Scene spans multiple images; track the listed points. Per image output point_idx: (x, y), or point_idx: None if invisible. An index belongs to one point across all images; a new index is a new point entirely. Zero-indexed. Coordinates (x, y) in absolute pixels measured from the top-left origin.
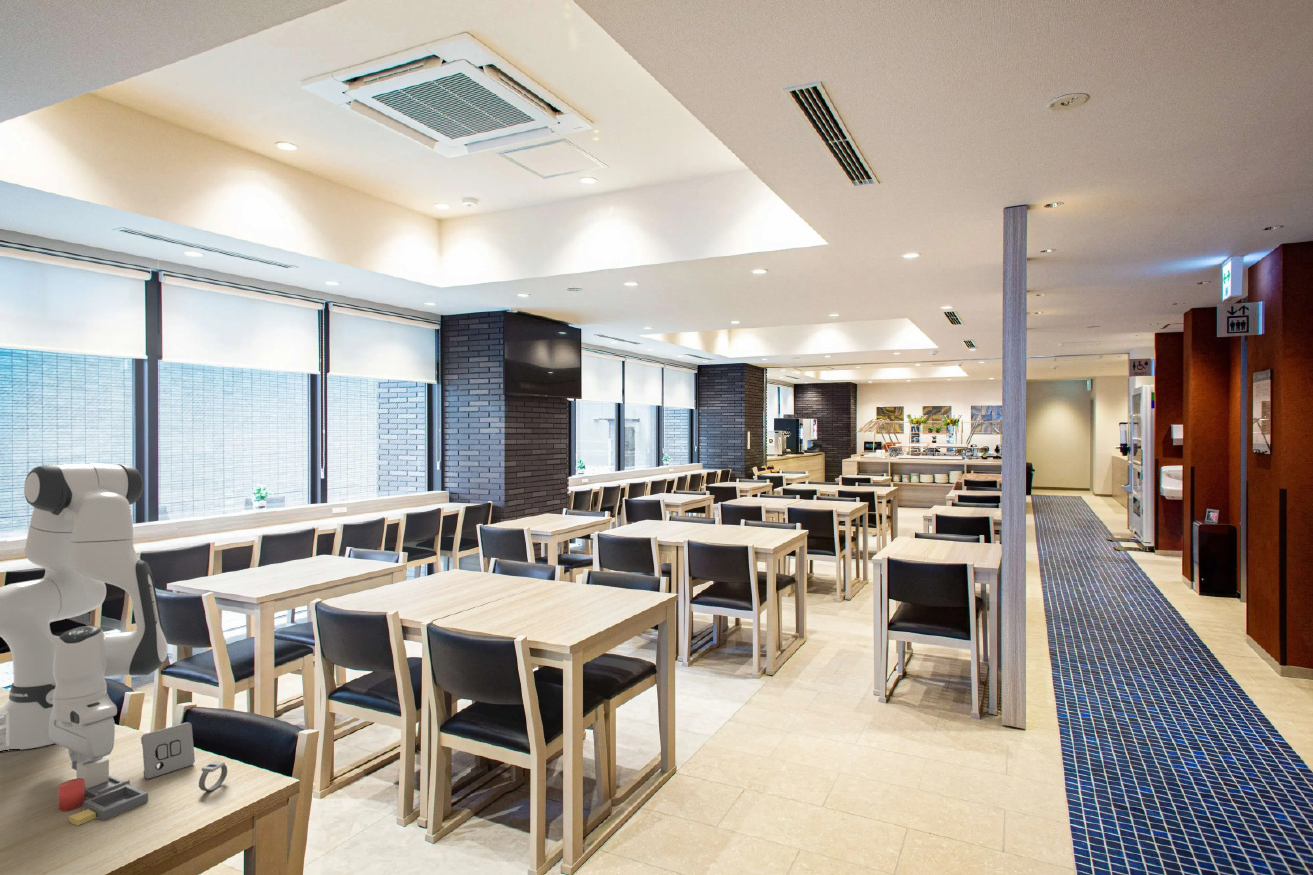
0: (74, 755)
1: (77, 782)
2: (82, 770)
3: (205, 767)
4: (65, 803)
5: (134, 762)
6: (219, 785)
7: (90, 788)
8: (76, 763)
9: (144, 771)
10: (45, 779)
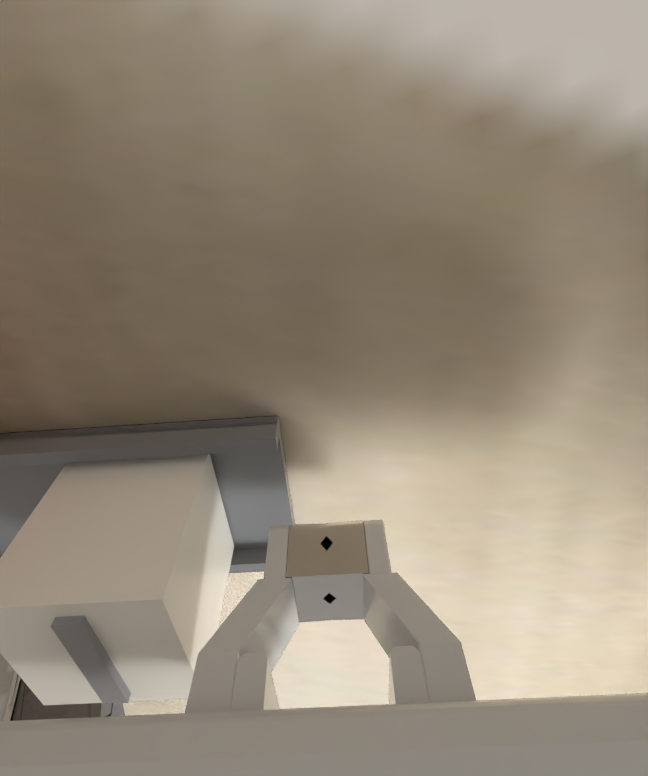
0: (397, 630)
1: None
2: (62, 563)
3: None
4: None
5: (307, 650)
6: None
7: None
8: (298, 576)
9: (6, 665)
10: (565, 371)
